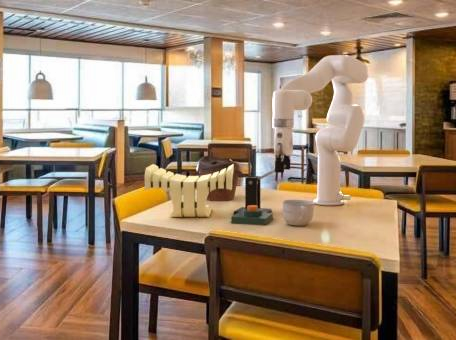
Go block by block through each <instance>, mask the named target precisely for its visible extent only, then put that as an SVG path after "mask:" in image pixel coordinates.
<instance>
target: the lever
mask: <svg viewBox="0 0 456 340" xmlns="http://www.w3.org/2000/svg"><path fill="white" fill-rule="evenodd" d="M286 167H287V165H286V164H284V168H286ZM274 173H276V172H275V168H274V169H272V170H269V171H268V172H266V173H264V174H262V175H259V176H260V177H258V178H257V183H258V180H260V179H264V178H266V177H268V176H270V175H272V174H274ZM255 178H256V177H255Z"/></svg>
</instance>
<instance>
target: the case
mask: <svg viewBox="0 0 456 340" xmlns="http://www.w3.org/2000/svg"><path fill="white" fill-rule="evenodd" d="M233 164H234V172H233V177H232V190H229V189H226V187H224V189H223V188H220V189H218V187H216V189H214V190H212V191H211V192H210V187H209V194H208V196H207V199H206V200H207V201H216V202H217V201H218V202H220V201H221V202H224V201H230V200H233V199H234V198H235V197H236V192H237V191H236V190H237V186H238V183H239V176H242V177H244V172H243V166H242V164H241V163H240V162H239V161H233V160H232V159H230V158H229V159H224V158H221V157H217V156H214V155H203V156H202V157H200V159H199V160H198V163H197V165H196V173H199V178H200V177H201V176H202V175H208V174H211V177H212V175H213V173H215V172H218V171H219V173H220V171H221V170H223V169H225V168H226V171H227V169H228V167H229V166H231V165H233ZM217 181H218V180H217ZM225 181H226V176H225Z"/></svg>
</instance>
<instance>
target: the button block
mask: <svg viewBox="0 0 456 340" xmlns="http://www.w3.org/2000/svg"><path fill="white" fill-rule="evenodd" d="M272 220H274V213H273V212H270V213H263V212H262V209H259V208H258V211H247V209H244V210H243V211H241V212H239V213H237V214H235V215H234V214H233V215H232V216H231V219H230V221H231V222H230V223H231V224H237V225H238V224H239V225H258V226H266V225H267V224H268V223H270V222H271V221H272Z"/></svg>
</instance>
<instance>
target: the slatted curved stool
mask: <svg viewBox="0 0 456 340" xmlns="http://www.w3.org/2000/svg"><path fill="white" fill-rule="evenodd" d="M233 172H234V164H233V165H231V166H229V167H228V169H227V171H226V168H225V169H223V170H221V171H220V173H219V171H218V172H215V173H213V175H212V177H211V174H208V175H202V176H201V177H200V175H188V176H187V175H185V174H180V173H174V172H172V171H170V170H169V171H167V169H164V168H163V167H160V168H159V166H158V165H156V164H154V163H152V164H150V165H148V166H147V167H145V169H144V191H148V190H152V189H157V190H159V189H160V190H162V191H165V192H166V193H168V192H169V197H170V200H171V203H172V209H173V212H172V215H171V218H182V217H184V218H196V217H198V218H209V217H210V215H211V212H212V209H211V206H210V205H209V204H206V203H207V200H208V199H207V196H208V194H209V187H210V192H211V191H212V190H214V189H216V187H218V189H220V188H223V189H224V187H226V189H229V190H232V177H233ZM225 176H226V181H225ZM217 180H218V181H217Z"/></svg>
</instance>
